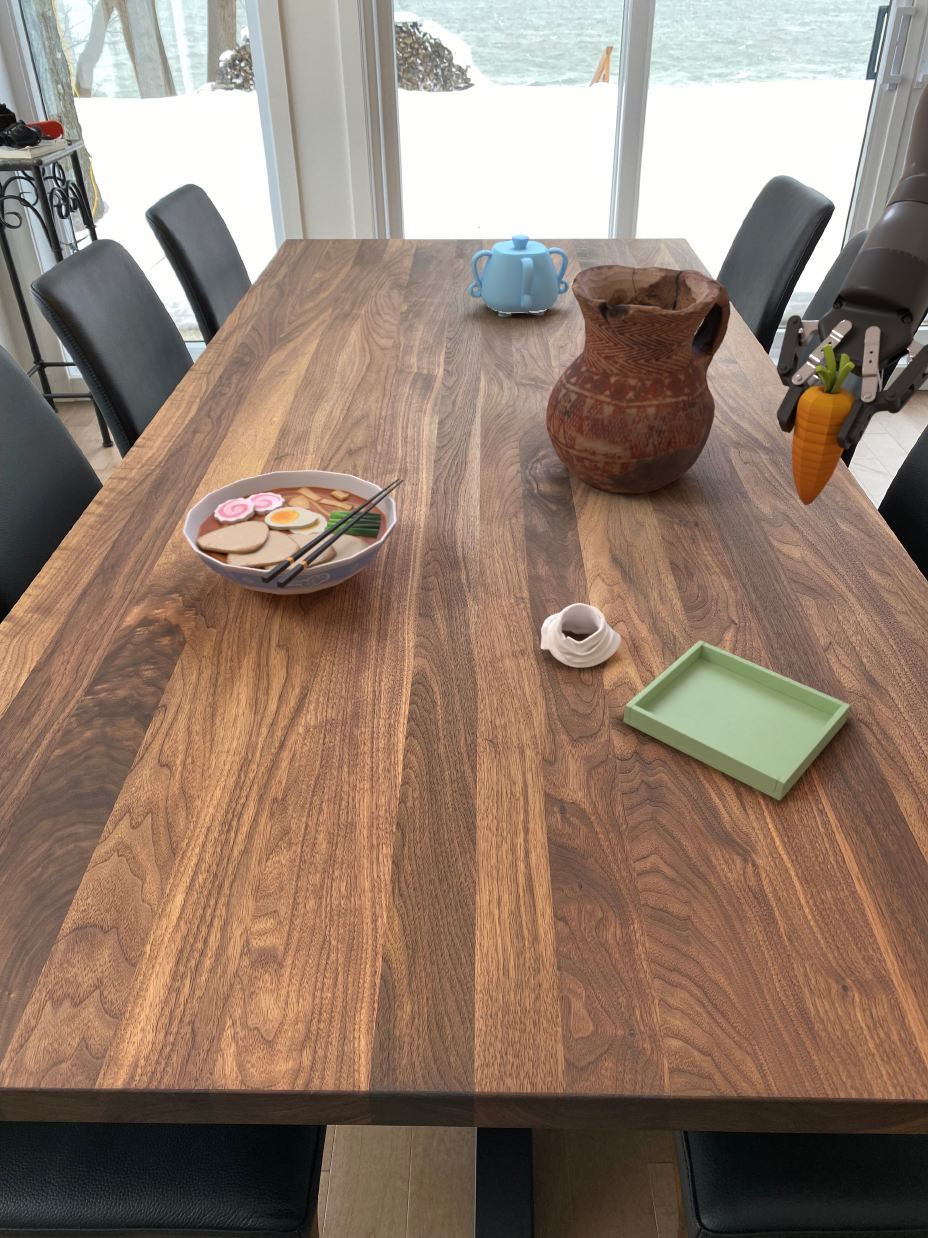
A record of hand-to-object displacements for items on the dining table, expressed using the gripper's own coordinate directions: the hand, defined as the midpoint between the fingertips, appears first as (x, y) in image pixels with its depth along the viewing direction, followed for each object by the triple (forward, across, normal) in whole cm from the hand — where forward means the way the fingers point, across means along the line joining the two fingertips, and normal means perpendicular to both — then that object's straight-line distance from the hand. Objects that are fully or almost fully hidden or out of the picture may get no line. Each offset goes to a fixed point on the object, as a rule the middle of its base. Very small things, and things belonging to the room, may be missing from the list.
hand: (813, 435), depth 87 cm
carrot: (+4, 0, +7) cm, 8 cm away
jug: (0, -32, +31) cm, 45 cm away
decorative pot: (-33, -88, +64) cm, 113 cm away
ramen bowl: (+32, -45, -2) cm, 55 cm away
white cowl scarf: (+26, -13, +5) cm, 30 cm away
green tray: (+26, +4, +5) cm, 27 cm away
